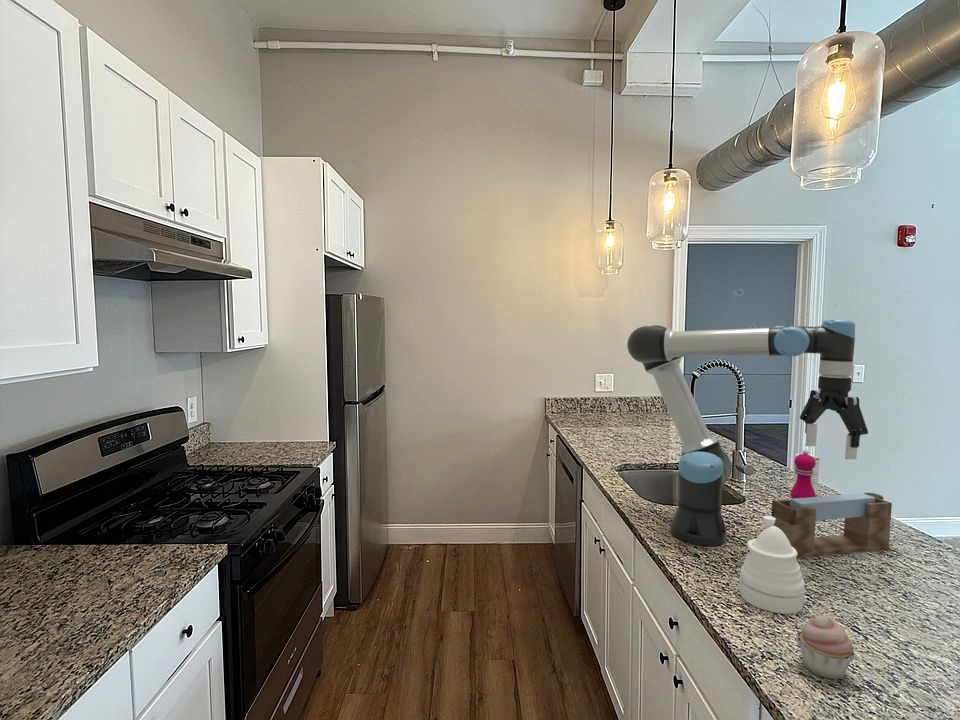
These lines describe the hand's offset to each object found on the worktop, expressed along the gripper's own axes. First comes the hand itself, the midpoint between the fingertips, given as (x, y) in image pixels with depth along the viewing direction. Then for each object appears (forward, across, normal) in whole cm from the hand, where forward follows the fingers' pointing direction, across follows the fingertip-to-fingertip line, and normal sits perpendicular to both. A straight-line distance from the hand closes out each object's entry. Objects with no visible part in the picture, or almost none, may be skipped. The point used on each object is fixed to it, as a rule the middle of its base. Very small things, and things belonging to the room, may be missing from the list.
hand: (829, 452), depth 145 cm
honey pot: (+27, -23, +34) cm, 49 cm away
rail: (+17, -2, 0) cm, 17 cm away
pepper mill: (+27, +25, -15) cm, 40 cm away
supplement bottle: (+26, +3, -19) cm, 33 cm away
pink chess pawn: (+27, +38, -27) cm, 53 cm away
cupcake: (+27, -46, +42) cm, 68 cm away
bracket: (+26, -2, 0) cm, 26 cm away
